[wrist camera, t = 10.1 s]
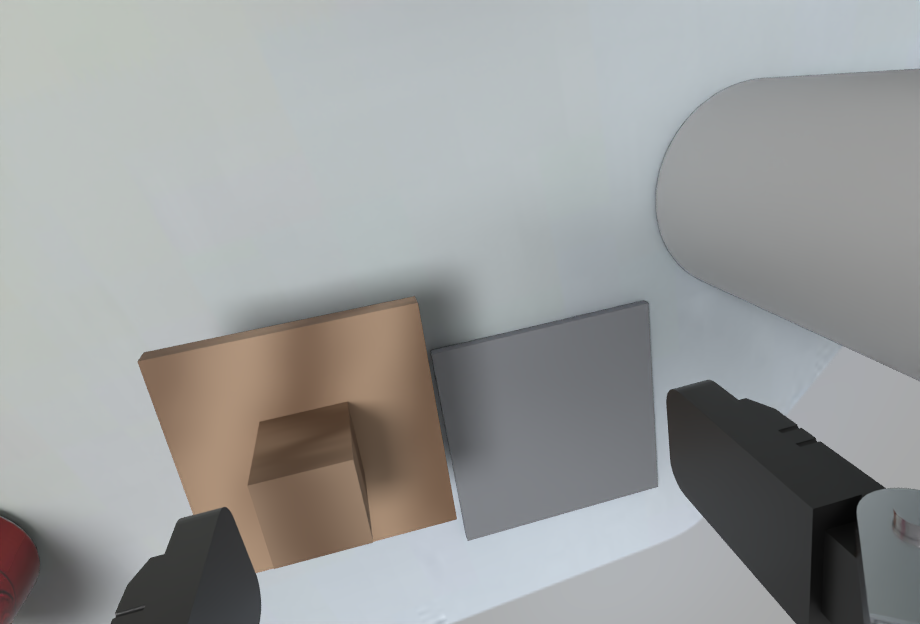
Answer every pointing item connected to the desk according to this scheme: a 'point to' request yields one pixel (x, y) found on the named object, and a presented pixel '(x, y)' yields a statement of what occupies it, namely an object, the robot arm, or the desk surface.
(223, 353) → the lid
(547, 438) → the mat
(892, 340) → the cylinder vase
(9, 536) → the soda can
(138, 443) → the desk surface
